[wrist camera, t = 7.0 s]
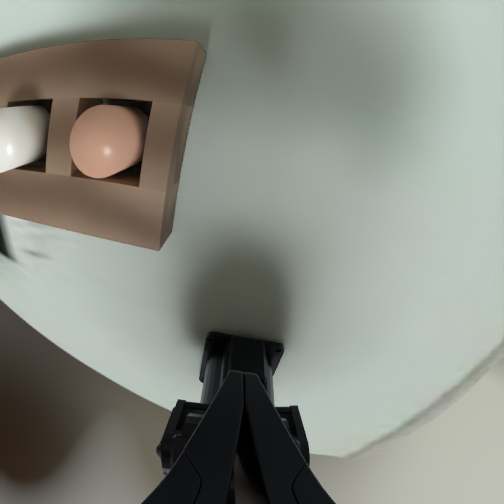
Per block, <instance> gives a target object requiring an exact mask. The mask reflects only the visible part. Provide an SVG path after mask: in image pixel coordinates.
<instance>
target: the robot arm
mask: <svg viewBox="0 0 504 504" xmlns="http://www.w3.org/2000/svg"><path fill="white" fill-rule="evenodd" d="M211 337H213V338H214V339H212V338H211ZM283 353H284V346H283V345H282V344H280V343H275V342H268V341H262V340H255V339H249V338H244V337H238V336H232V335H227V334H222V333H216V332H209V333H208V334H207V338H206V344H205V349H204V355H203V360H202V366H201V371H200V377H199V380H200V381H201V382H203V390H202V396H201V403H195V402H186V400H179V399H178V401H177V404H176V406H175V407H174V408H173V410H172V413H171V416H170V418H169V421H168V424H167V426H166V429H165V432H164V435H163V437H162V440H161V441H160V443H159V445H158V446H157V450H156V451H157V454H158V456H159V457H160V458H161V462H162V469H163V473H164V475H165V478H164V479H163V480H162V481H161V483H160V484H159V485H158V486H157V487H156V488H155V489H154V491H153V492H152V493H151V494H150V495H149V496H148V497H147V498H146V499H145V500H144V501H143V502H142V503H141V504H336V503H335V502H334V501H333V500H332V499H331V497H330V496H329V495H328V494H327V492H326V491H325V490H324V489H323V488H322V486H321V485H320V483H319V482H318V480H317V479H316V477H315V476H314V474H313V473H312V471H311V469H310V468H309V462H310V460H309V459H310V456H309V445H308V441H307V437H306V434H305V430H304V427H303V423H302V420H301V416H300V413H299V409H298V406H290V407H275V406H274V391H273V375H274V373H275V371H276V368H277V366H278V364H279V362H280V359H281V357H282V355H283Z"/></svg>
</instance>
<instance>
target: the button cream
mask: <svg viewBox="0 0 504 504" xmlns="http://www.w3.org/2000/svg"><path fill="white" fill-rule="evenodd" d="M49 123H50V114H49V112H48V111H47V110H46V109H45V108H44V107H42V106H39V105H33V106H18V107H7V108H0V173H2V172H5V171H8V170H11V169H13V168H16V167H19V166H22V165H25V164H28V163H31V162H35V161H37V160H39V159H41V158H42V157H43V156H44V155H45V154H46V152H47V142H48V131H49Z"/></svg>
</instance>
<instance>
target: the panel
mask: <svg viewBox="0 0 504 504" xmlns="http://www.w3.org/2000/svg"><path fill="white" fill-rule="evenodd" d="M205 58H206V53H205V51H204V50H203V48H202V47H201V45H200V44H199V43H198V41H187V40H173V39H109V40H96V41H85V42H77V43H69V44H62V45H56V46H50V47H45V48H40V49H35V50H31V51H27V52H22V53H18V54H15V55H11V56H7V57H4V58H1V59H0V108H7V107H18V106H32V105H33V101H36V100H53V102H52V108H51V115H50V123H49V131H48V142H47V155H46V162H44V161H35V162H31V163H28V164H25V165H22V166H19V167H16V168H13V169H11V170H8V171H5V172H2V173H0V214H4V215H8V216H12V217H16V218H20V219H24V220H28V221H32V222H36V223H40V224H44V225H48V226H52V227H57V228H61V229H65V230H69V231H73V232H78V233H82V234H86V235H90V236H95V237H99V238H103V239H108V240H112V241H116V242H121V243H125V244H130V245H134V246H138V247H143V248H147V249H152V250H156V251H159V250H160V249H161V247H162V246H163V244H164V243H165V241H166V240H167V238H168V237H169V235H170V234H171V232H172V225H173V218H174V210H175V203H176V197H177V190H178V184H179V178H180V172H181V166H182V161H183V155H184V150H185V144H186V139H187V134H188V129H189V125H190V120H191V115H192V111H193V106H194V102H195V98H196V93H197V89H198V85H199V81H200V77H201V73H202V69H203V65H204V62H205ZM103 99H108V100H128V101H141V102H152V108H151V113H150V118H149V123H148V129H147V134H146V140H145V147H144V153H143V160H142V167H141V174H135V173H129V172H122V171H120V172H117V173H115V174H113V175H110V176H108V177H105V178H93V177H89V176H87V175H85V174H84V173H82V172H81V171H80V170H79V169H78V168H77V166H76V165H75V163H74V161H73V159H72V156H71V153H70V135H71V131H72V128H73V126H74V124H75V122H76V121H77V119H78V118H79V117H80V115H81V114H82V113H83V112H85V111H86V110H87V109H89V108H91V107H94V106H97V105H102V103H103Z"/></svg>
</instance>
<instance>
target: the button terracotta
mask: <svg viewBox="0 0 504 504" xmlns="http://www.w3.org/2000/svg"><path fill="white" fill-rule="evenodd" d="M148 123H149V117H148V116H147V115H146V114H145V113H144V112H143V111H141V110H140V109H138V108H135V107H129V106H116V105H97V106H94V107H91V108H89V109H87V110H86V111H85V112H83V113H82V114H81V115H80V117H79V118H78V119H77V121H76V122H75V124H74V126H73V128H72V131H71V135H70V153H71V156H72V159H73V161H74V163H75V165H76V166H77V168H78V169H79V170H80V171H81V172H82V173H84V174H85V175H87V176H89V177H93V178H105V177H108V176H110V175H113V174H115V173H117V172H120V171H122V170H124V169H127V168H129V167H131V166H134V165H136V164H138V163H139V162H141V161H142V160H143V153H144V147H145V140H146V134H147V129H148Z"/></svg>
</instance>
